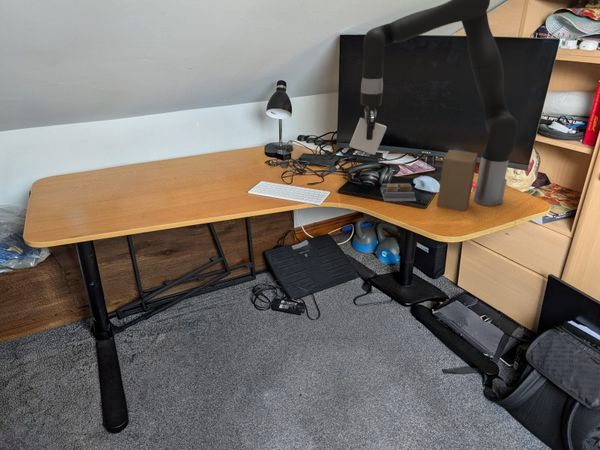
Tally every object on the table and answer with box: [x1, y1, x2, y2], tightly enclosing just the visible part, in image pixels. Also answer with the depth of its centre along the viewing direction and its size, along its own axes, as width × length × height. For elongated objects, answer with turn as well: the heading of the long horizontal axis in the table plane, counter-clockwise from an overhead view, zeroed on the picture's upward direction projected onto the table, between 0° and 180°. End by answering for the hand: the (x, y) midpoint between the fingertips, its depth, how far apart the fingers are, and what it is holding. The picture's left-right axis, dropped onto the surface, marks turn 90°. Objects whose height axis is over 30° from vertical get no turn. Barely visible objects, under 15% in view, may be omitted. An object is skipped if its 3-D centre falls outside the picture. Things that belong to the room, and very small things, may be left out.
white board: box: [349, 117, 387, 156], centre depth 168 cm, size 10×2×11 cm, turn 91°
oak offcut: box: [386, 185, 398, 192], centre depth 173 cm, size 4×2×4 cm, turn 88°
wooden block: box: [436, 149, 478, 212], centre depth 163 cm, size 10×10×20 cm
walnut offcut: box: [399, 185, 413, 192], centre depth 173 cm, size 4×2×4 cm, turn 88°
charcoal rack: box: [380, 183, 417, 202], centre depth 175 cm, size 12×12×4 cm
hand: (368, 138), depth 168 cm, fingers closed on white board, 2 cm apart
